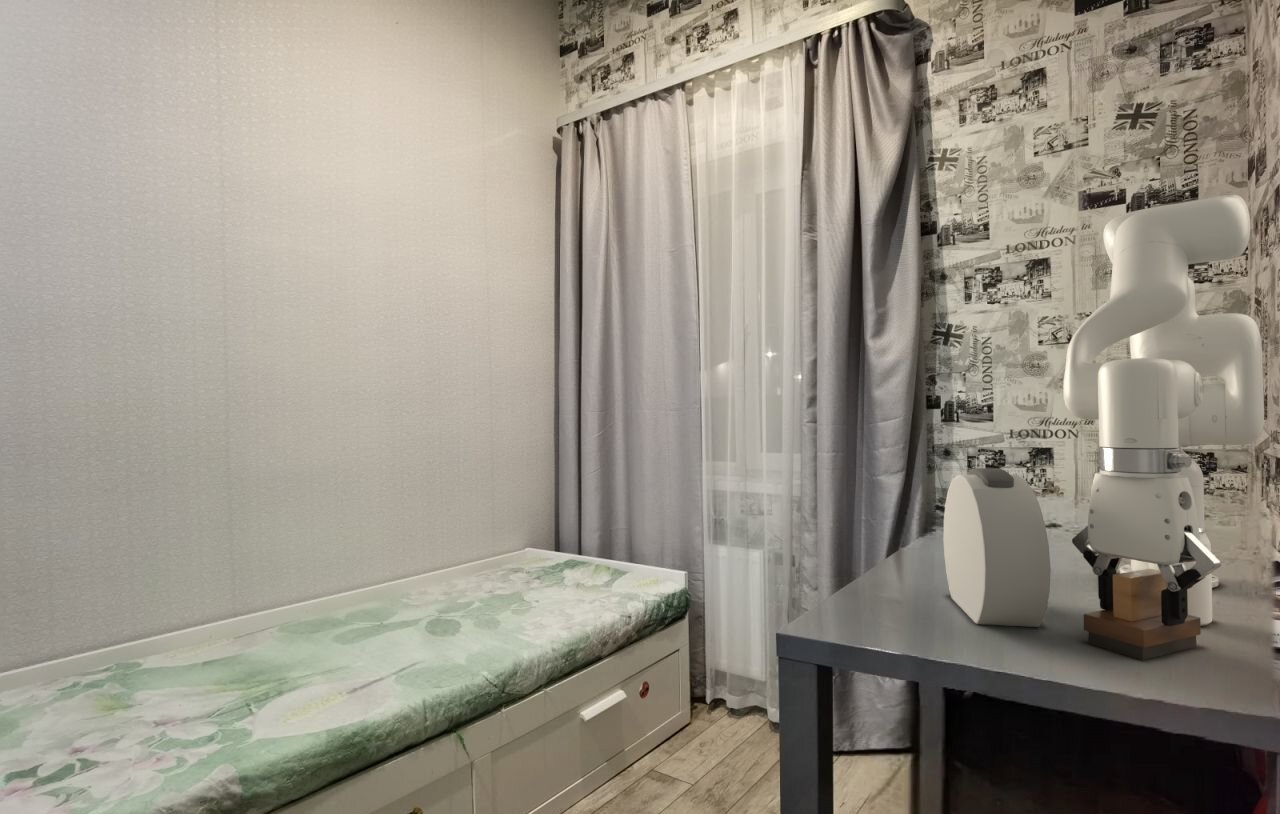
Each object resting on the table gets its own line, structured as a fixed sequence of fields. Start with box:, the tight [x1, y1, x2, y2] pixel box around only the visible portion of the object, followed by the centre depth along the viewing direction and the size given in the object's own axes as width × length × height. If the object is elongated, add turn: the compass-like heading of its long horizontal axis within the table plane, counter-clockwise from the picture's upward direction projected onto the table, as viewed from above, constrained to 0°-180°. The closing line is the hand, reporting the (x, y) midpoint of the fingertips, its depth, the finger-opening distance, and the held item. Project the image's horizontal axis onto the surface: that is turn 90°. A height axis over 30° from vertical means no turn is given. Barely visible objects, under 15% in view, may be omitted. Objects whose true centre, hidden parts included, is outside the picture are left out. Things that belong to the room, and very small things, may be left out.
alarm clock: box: [943, 467, 1052, 628], centre depth 92 cm, size 21×8×20 cm, turn 168°
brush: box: [1083, 569, 1202, 661], centre depth 78 cm, size 11×7×8 cm, turn 113°
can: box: [1148, 528, 1213, 627], centre depth 88 cm, size 6×6×12 cm
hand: (1141, 614), depth 78 cm, fingers closed on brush, 6 cm apart
